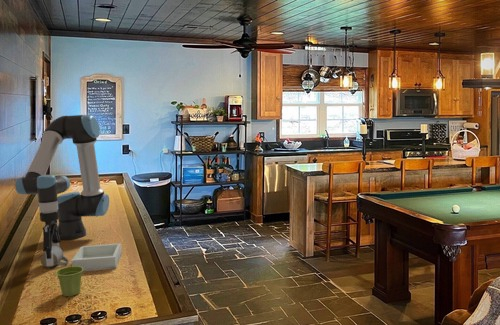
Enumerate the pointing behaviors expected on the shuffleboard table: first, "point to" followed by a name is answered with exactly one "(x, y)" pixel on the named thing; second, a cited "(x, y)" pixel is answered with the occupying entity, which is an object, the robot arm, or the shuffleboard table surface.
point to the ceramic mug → (55, 257)
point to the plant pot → (70, 280)
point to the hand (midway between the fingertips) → (53, 261)
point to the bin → (98, 257)
